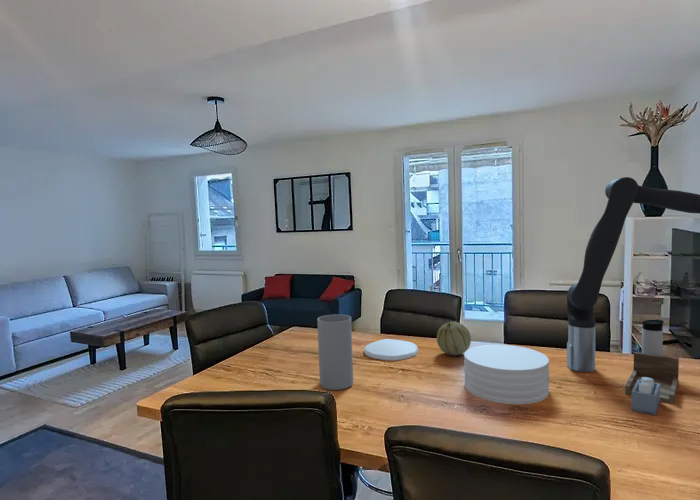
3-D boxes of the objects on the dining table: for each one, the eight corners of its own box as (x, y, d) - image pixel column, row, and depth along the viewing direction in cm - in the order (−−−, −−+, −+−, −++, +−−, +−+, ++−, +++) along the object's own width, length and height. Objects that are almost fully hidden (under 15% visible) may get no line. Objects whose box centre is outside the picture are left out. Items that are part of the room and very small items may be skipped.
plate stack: (508, 412, 132) (508, 376, 132) (448, 383, 157) (447, 352, 156) (567, 392, 145) (567, 359, 144) (503, 368, 170) (502, 340, 169)
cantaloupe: (475, 352, 191) (474, 319, 190) (465, 362, 179) (464, 326, 178) (443, 347, 199) (443, 316, 198) (431, 356, 187) (431, 323, 186)
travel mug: (666, 375, 157) (667, 322, 155) (646, 375, 158) (647, 322, 157) (657, 369, 163) (658, 318, 161) (638, 369, 164) (639, 318, 163)
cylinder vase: (357, 379, 163) (355, 315, 161) (346, 392, 151) (344, 323, 149) (327, 376, 167) (325, 313, 165) (314, 389, 155) (311, 321, 153)
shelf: (673, 403, 134) (674, 375, 133) (625, 393, 142) (625, 366, 142) (678, 383, 149) (678, 358, 148) (634, 376, 158) (634, 351, 157)
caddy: (655, 415, 126) (656, 390, 126) (631, 410, 130) (631, 385, 130) (659, 401, 136) (660, 378, 135) (637, 397, 139) (637, 374, 139)
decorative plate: (401, 355, 179) (353, 346, 194) (402, 364, 179) (354, 355, 194) (427, 340, 199) (382, 333, 214) (428, 349, 200) (382, 341, 214)
